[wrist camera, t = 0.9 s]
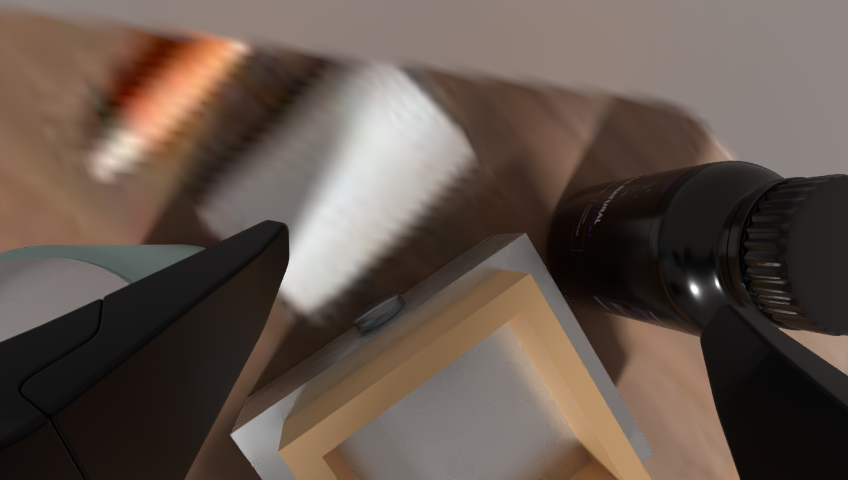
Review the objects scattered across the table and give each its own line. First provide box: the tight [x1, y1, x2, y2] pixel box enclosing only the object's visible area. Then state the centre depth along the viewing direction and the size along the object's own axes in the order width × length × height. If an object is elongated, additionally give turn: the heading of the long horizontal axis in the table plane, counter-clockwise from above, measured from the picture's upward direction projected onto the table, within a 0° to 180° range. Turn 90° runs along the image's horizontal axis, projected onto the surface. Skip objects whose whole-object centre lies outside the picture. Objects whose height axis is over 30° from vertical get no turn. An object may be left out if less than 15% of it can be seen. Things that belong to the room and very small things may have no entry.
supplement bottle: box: [548, 161, 848, 337], centre depth 19 cm, size 7×7×12 cm
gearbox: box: [230, 233, 653, 480], centre depth 19 cm, size 14×13×6 cm
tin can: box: [0, 244, 206, 342], centre depth 14 cm, size 6×6×10 cm
